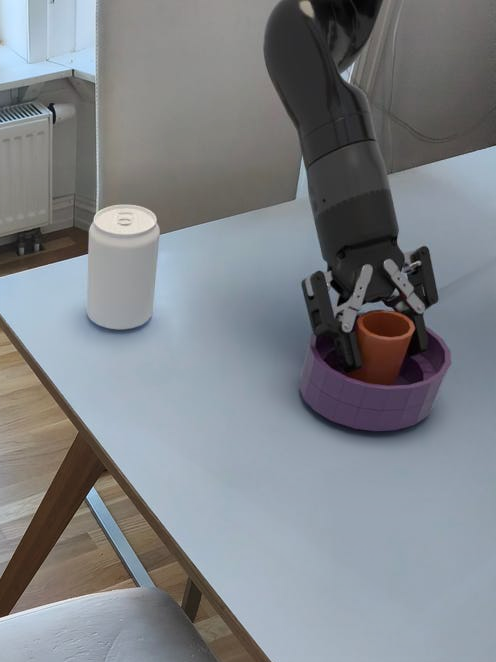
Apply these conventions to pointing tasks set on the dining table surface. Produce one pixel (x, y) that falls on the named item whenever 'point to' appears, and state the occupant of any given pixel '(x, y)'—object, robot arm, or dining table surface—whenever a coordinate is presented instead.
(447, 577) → the dining table surface
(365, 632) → the dining table surface
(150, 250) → the beverage can
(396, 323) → the cup
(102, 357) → the dining table surface
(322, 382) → the bowl
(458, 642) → the dining table surface
